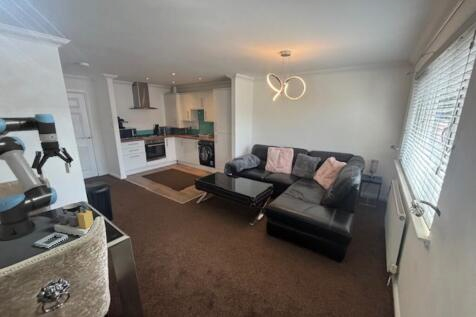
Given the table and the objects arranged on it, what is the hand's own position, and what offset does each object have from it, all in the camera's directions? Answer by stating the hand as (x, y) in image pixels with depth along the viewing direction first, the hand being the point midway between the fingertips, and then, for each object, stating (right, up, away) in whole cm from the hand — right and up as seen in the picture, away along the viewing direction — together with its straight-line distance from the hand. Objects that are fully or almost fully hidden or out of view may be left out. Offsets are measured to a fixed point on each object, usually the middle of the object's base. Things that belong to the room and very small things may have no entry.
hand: (56, 176), depth 118 cm
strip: (+9, -34, +5) cm, 36 cm away
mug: (-3, -32, +19) cm, 37 cm away
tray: (+3, -37, -6) cm, 38 cm away
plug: (+16, -34, +3) cm, 38 cm away
